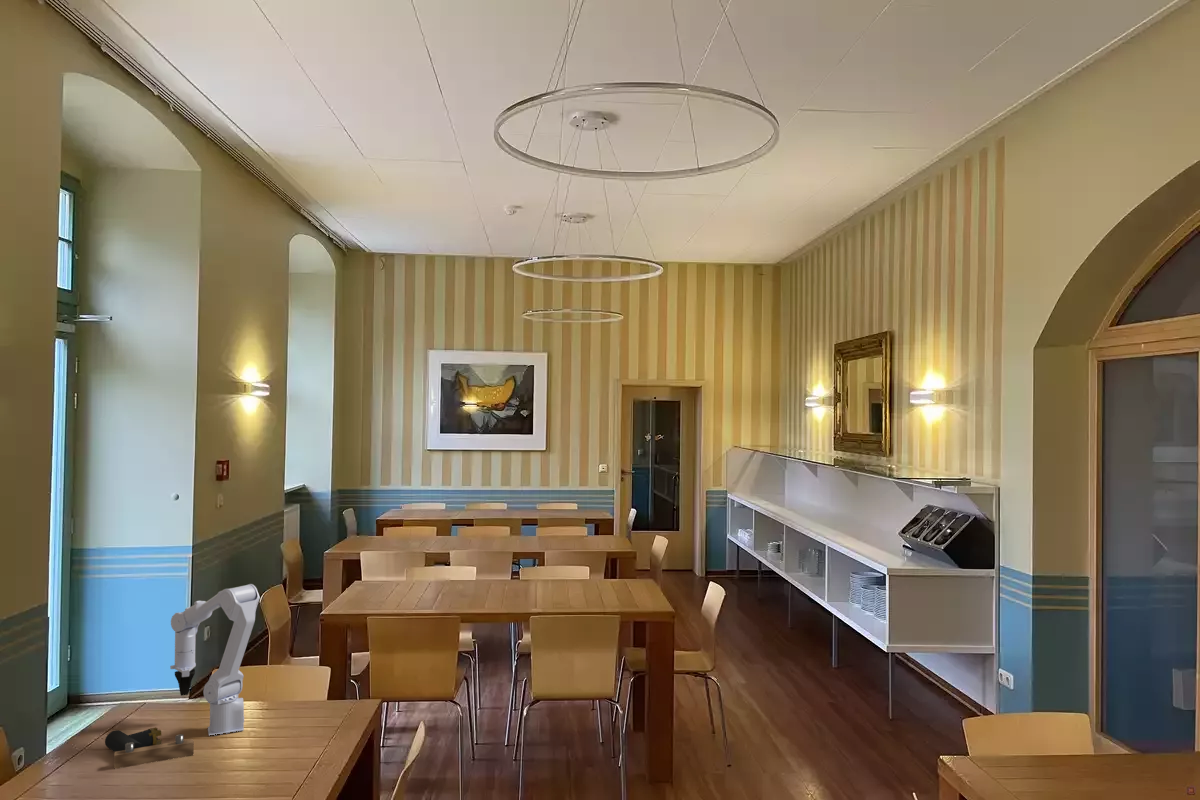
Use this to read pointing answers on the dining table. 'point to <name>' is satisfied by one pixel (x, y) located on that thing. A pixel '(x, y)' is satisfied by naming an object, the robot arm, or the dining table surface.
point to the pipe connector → (132, 739)
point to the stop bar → (153, 752)
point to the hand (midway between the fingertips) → (184, 694)
